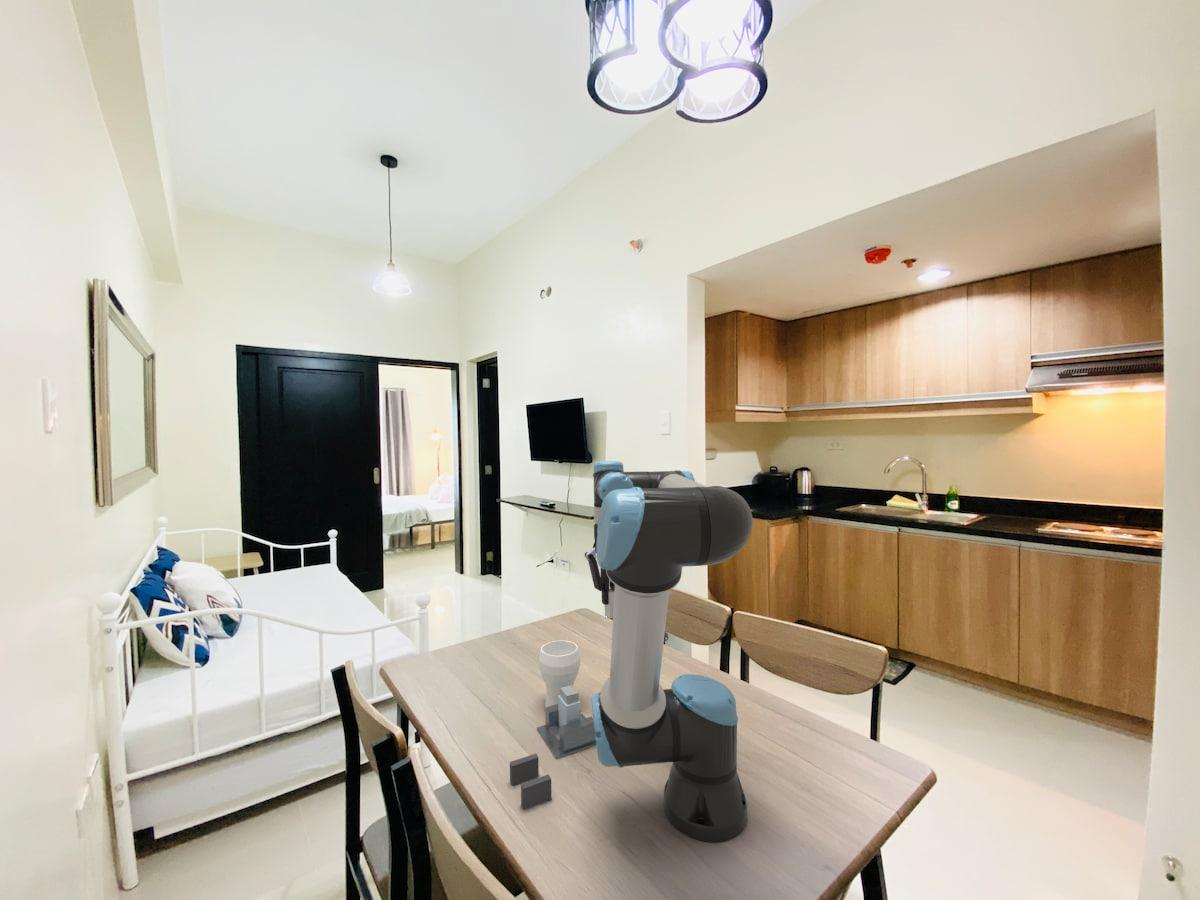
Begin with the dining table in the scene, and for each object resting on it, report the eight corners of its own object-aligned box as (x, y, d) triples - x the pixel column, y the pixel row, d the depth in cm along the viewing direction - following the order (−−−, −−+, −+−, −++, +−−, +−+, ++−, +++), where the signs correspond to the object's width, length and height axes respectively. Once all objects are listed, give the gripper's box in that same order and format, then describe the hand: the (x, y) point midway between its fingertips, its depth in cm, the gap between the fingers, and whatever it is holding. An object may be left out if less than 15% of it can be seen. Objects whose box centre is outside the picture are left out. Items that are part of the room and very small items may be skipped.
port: (605, 742, 109) (604, 720, 109) (556, 759, 103) (555, 736, 103) (582, 715, 120) (582, 695, 119) (536, 729, 114) (536, 708, 114)
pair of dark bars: (551, 799, 92) (551, 778, 92) (523, 809, 89) (523, 788, 89) (536, 772, 99) (536, 753, 99) (510, 781, 97) (509, 762, 97)
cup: (574, 719, 118) (574, 658, 118) (533, 714, 120) (533, 655, 120) (584, 696, 129) (584, 640, 128) (546, 692, 131) (546, 638, 130)
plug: (580, 736, 110) (580, 693, 110) (566, 741, 109) (566, 697, 109) (572, 725, 115) (571, 683, 115) (558, 729, 113) (558, 687, 113)
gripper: (623, 518, 126) (624, 607, 127) (578, 522, 120) (579, 616, 121) (639, 522, 120) (639, 616, 120) (592, 527, 114) (593, 626, 114)
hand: (609, 616), depth 120 cm, fingers closed
